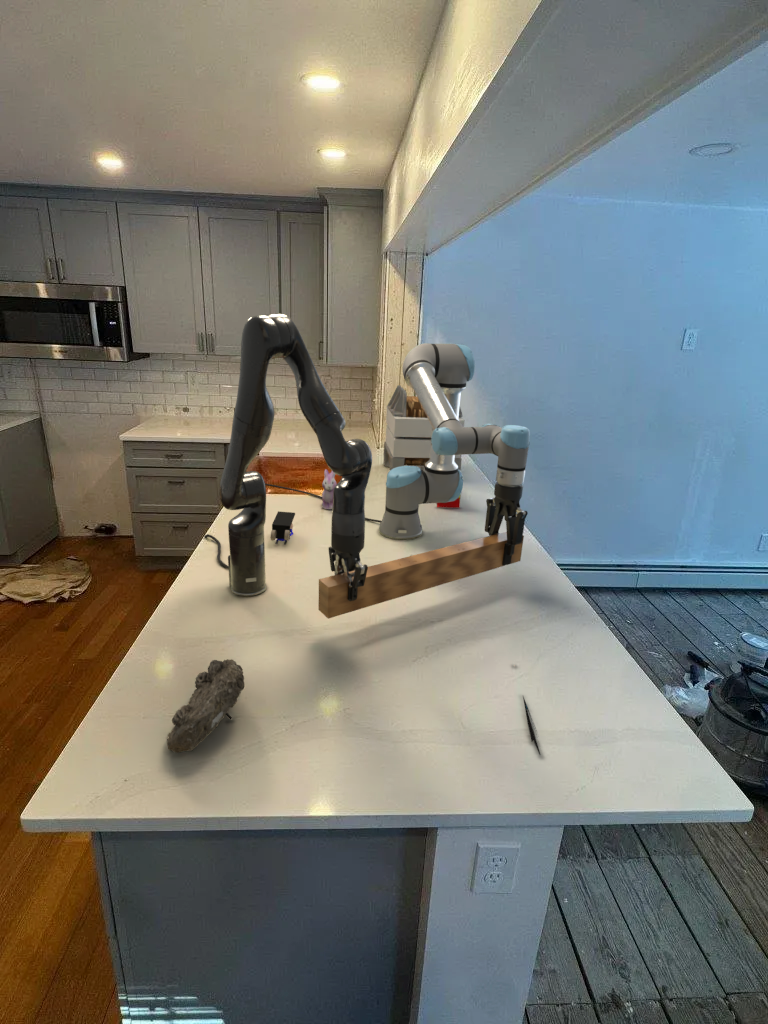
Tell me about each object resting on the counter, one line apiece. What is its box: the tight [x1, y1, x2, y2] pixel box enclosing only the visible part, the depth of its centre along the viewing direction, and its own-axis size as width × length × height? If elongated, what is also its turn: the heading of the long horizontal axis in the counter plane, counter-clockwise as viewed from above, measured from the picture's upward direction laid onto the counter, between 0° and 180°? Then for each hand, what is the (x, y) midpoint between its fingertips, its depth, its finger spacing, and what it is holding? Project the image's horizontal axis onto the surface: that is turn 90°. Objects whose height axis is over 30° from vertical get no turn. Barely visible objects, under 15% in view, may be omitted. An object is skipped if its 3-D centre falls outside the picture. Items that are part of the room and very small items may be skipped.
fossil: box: [166, 658, 245, 754], centre depth 106 cm, size 22×10×15 cm
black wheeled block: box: [270, 510, 296, 546], centre depth 190 cm, size 7×8×15 cm
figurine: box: [321, 468, 338, 510], centre depth 222 cm, size 9×10×15 cm
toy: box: [436, 493, 462, 509], centre depth 239 cm, size 12×13×30 cm
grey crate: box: [383, 384, 465, 472], centre depth 268 cm, size 34×33×41 cm
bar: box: [318, 531, 525, 619], centre depth 147 cm, size 64×5×8 cm, turn 125°
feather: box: [513, 664, 541, 755], centre depth 114 cm, size 2×28×2 cm
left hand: (346, 595), depth 133 cm, fingers closed on bar, 4 cm apart
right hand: (499, 560), depth 162 cm, fingers closed on bar, 5 cm apart
